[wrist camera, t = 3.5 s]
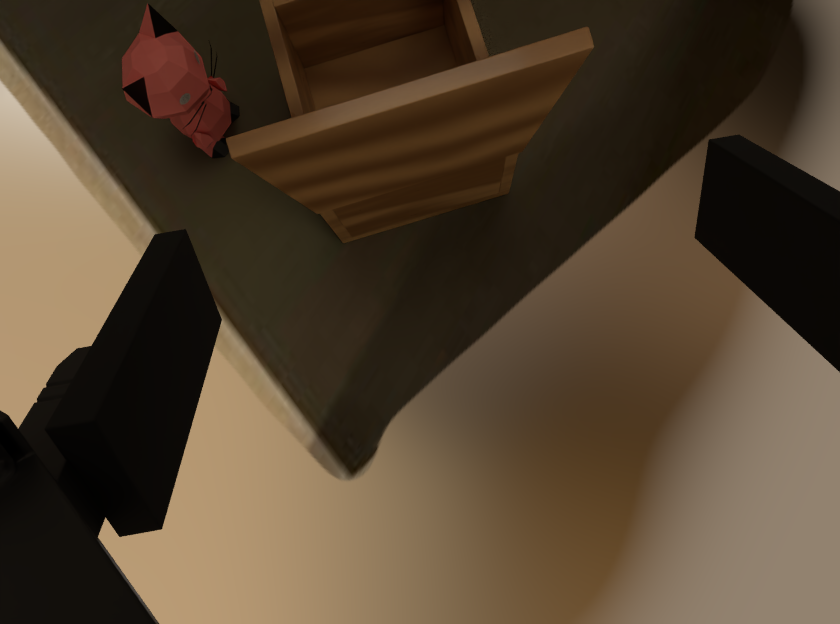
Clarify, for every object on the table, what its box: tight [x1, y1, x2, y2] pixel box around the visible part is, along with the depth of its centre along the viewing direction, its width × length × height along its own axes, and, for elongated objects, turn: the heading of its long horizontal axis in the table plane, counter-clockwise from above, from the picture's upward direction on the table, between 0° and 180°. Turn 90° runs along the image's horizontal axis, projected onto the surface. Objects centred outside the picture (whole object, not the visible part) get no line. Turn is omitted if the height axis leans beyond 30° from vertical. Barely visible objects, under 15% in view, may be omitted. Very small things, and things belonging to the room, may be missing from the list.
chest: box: [260, 0, 518, 243], centre depth 44 cm, size 16×14×9 cm
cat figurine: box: [122, 4, 239, 158], centre depth 44 cm, size 7×7×12 cm
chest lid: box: [226, 27, 594, 214], centre depth 30 cm, size 17×14×1 cm
